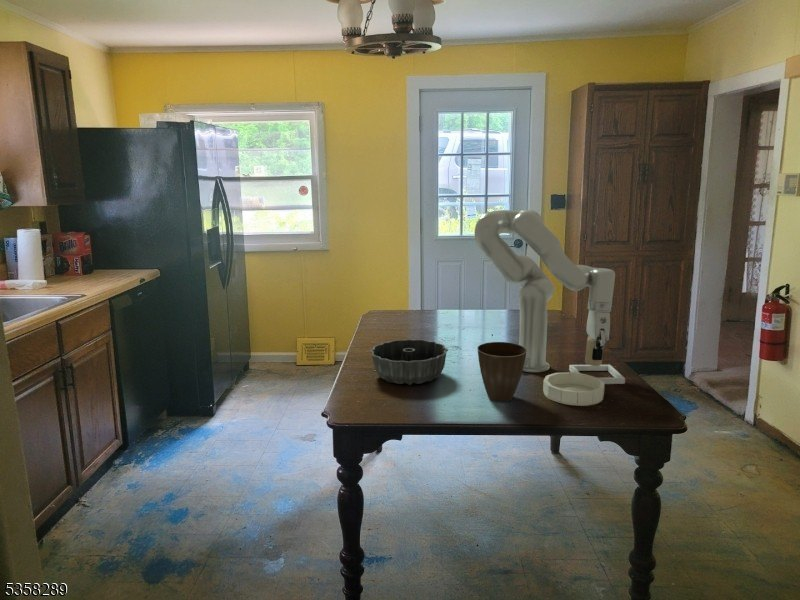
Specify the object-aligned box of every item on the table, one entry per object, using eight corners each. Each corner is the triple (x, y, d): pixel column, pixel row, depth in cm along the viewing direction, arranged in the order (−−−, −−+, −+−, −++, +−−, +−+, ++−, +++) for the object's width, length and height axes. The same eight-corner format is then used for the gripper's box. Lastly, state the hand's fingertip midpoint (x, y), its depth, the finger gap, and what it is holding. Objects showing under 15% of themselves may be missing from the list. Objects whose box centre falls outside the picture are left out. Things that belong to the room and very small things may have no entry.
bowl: (578, 410, 172) (579, 396, 171) (531, 392, 186) (532, 379, 185) (615, 396, 182) (616, 383, 181) (568, 380, 196) (568, 368, 195)
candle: (598, 360, 203) (601, 333, 200) (603, 366, 197) (607, 338, 195) (582, 360, 202) (585, 332, 200) (587, 365, 197) (591, 337, 195)
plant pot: (534, 397, 182) (536, 348, 179) (506, 411, 172) (507, 359, 168) (495, 385, 192) (496, 339, 189) (466, 397, 182) (467, 348, 179)
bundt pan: (357, 384, 196) (356, 355, 194) (390, 361, 219) (390, 335, 217) (430, 395, 185) (430, 365, 183) (457, 370, 208) (457, 343, 206)
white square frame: (624, 383, 193) (625, 378, 193) (581, 384, 193) (581, 378, 193) (609, 369, 207) (609, 364, 207) (569, 369, 207) (569, 364, 207)
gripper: (620, 312, 187) (613, 365, 191) (602, 299, 204) (596, 349, 208) (596, 311, 187) (590, 365, 191) (580, 299, 203) (575, 348, 208)
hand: (593, 356), depth 199 cm, fingers closed on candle, 5 cm apart
